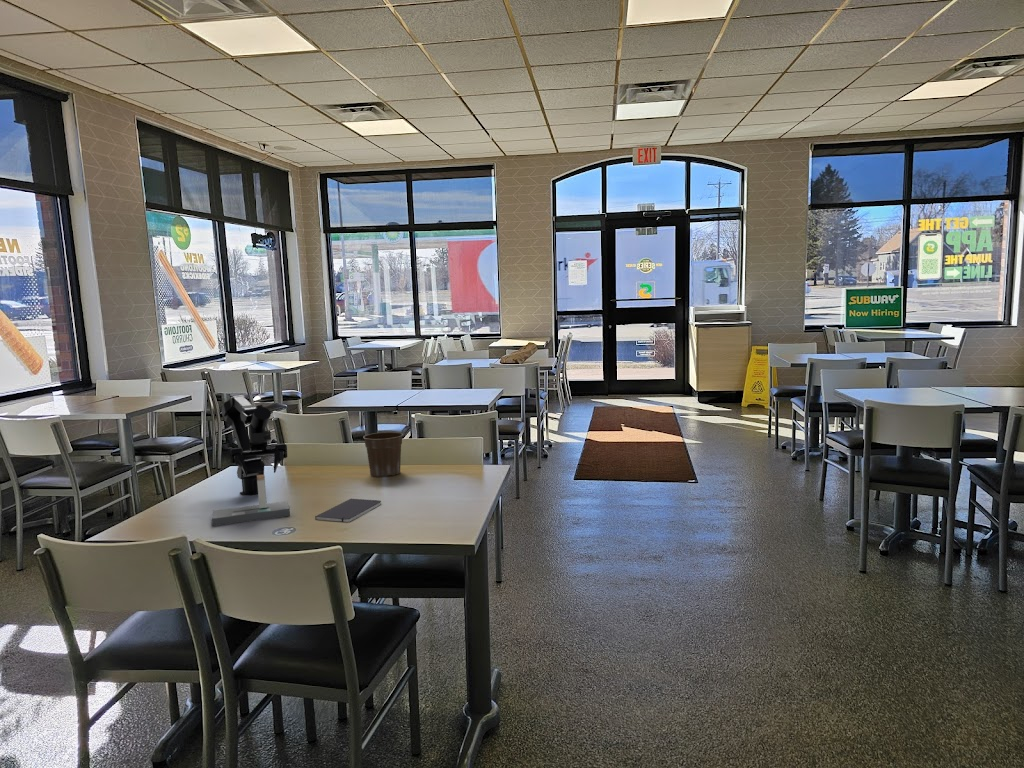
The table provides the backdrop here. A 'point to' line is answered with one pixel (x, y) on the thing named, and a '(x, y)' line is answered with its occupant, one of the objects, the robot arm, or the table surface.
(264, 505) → the slide lever
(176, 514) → the table surface
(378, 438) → the plant pot
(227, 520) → the switch housing
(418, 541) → the table surface
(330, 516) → the notebook
